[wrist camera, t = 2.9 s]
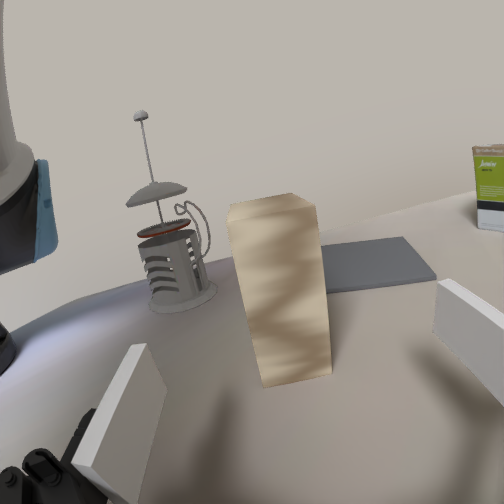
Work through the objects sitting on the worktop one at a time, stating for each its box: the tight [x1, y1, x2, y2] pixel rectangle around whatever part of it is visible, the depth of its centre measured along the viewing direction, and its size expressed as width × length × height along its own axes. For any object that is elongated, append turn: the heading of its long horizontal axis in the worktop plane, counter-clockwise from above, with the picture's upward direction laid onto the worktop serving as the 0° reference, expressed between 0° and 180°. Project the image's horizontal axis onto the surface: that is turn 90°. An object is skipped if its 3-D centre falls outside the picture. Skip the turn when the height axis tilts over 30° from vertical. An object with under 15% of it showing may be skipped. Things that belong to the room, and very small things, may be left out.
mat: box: [321, 237, 437, 293], centre depth 38 cm, size 20×16×1 cm
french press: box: [126, 110, 217, 314], centre depth 35 cm, size 10×12×25 cm
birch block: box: [226, 193, 332, 388], centre depth 22 cm, size 5×8×12 cm, turn 3°
